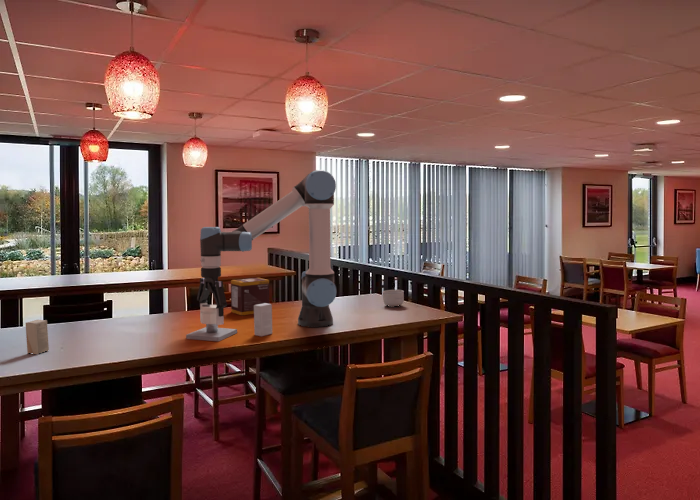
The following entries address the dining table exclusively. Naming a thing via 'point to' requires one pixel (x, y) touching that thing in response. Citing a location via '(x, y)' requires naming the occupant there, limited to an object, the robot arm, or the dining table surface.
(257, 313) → the skincare box
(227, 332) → the board
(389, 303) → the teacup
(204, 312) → the white lidded jar
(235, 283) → the supplement box
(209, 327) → the post
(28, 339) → the box
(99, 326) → the dining table surface
